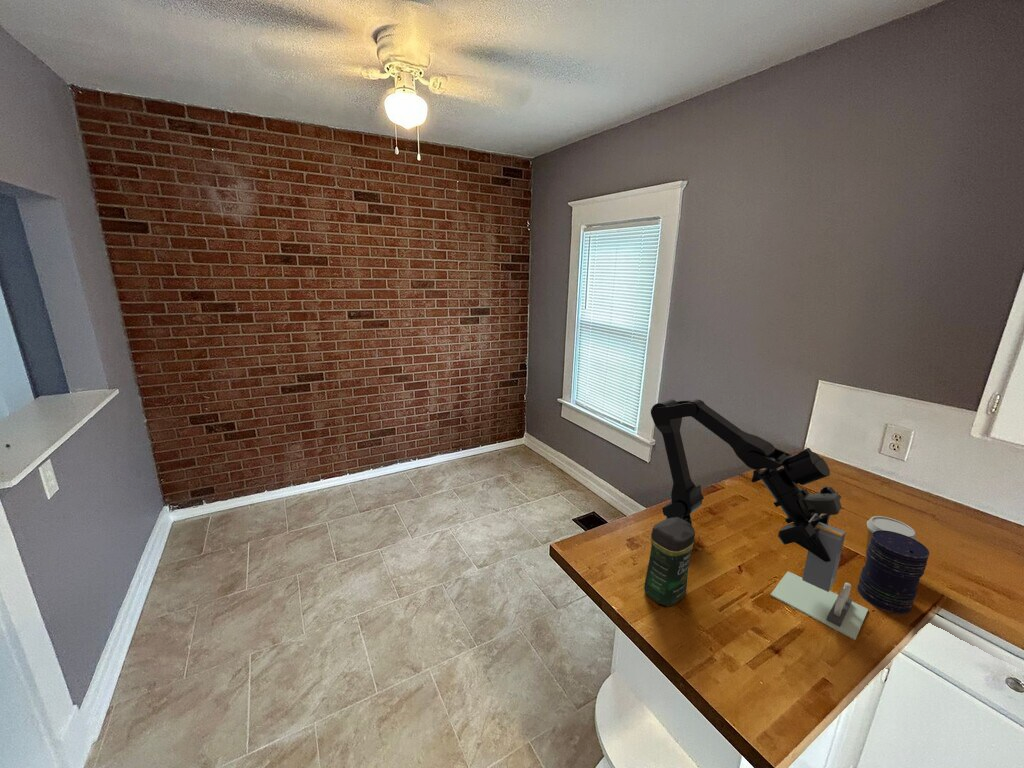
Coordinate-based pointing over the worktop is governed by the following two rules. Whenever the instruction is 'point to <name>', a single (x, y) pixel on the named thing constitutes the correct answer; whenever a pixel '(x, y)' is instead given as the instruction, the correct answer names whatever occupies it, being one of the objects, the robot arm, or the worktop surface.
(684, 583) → the coffee jar
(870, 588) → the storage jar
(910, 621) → the worktop surface
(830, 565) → the plug block
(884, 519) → the disposable coffee cup
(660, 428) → the robot arm
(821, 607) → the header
